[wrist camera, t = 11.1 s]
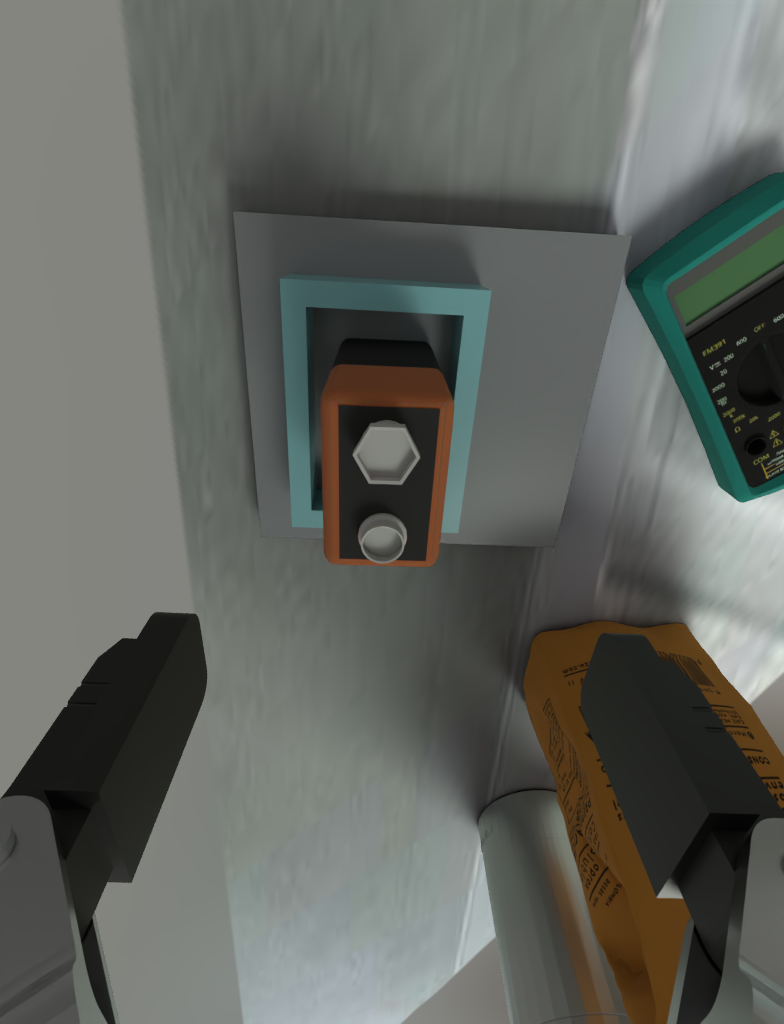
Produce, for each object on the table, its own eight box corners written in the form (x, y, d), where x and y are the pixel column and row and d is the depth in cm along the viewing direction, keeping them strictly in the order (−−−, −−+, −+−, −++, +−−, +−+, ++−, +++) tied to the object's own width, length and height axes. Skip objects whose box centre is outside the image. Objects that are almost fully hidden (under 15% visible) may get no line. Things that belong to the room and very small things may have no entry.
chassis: (618, 235, 23) (660, 236, 20) (546, 533, 31) (567, 572, 27) (241, 212, 22) (215, 209, 19) (266, 523, 30) (250, 562, 27)
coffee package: (671, 712, 39) (953, 1180, 20) (511, 714, 39) (637, 1189, 20) (711, 612, 34) (1134, 1103, 15) (527, 614, 34) (717, 1115, 15)
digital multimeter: (718, 494, 30) (750, 518, 28) (615, 273, 24) (643, 278, 22) (847, 423, 28) (894, 443, 26) (769, 164, 22) (820, 156, 20)
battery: (432, 339, 24) (462, 403, 15) (422, 471, 27) (441, 586, 18) (339, 335, 24) (314, 397, 15) (340, 468, 27) (320, 583, 18)
